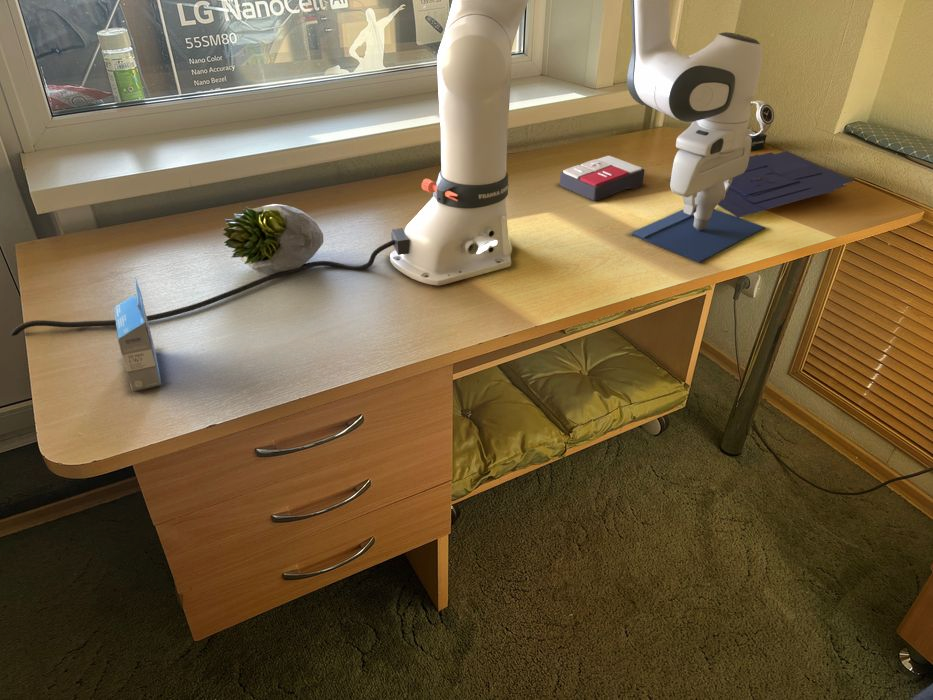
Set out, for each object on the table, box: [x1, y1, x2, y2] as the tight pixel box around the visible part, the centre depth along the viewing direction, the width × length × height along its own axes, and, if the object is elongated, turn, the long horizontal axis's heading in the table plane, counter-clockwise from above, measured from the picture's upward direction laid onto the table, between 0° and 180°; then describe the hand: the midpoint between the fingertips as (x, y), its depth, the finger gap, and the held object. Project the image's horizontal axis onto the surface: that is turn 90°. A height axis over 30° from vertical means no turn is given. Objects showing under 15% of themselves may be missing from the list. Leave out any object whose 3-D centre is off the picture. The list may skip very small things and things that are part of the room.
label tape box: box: [113, 275, 162, 392], centre depth 93 cm, size 9×4×12 cm, turn 25°
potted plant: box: [222, 203, 324, 276], centre depth 118 cm, size 12×13×15 cm
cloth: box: [631, 208, 766, 264], centre depth 135 cm, size 22×15×1 cm
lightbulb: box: [693, 180, 725, 231], centre depth 132 cm, size 6×6×11 cm
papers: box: [669, 150, 856, 218], centre depth 152 cm, size 24×30×4 cm
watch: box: [748, 100, 775, 151], centre depth 174 cm, size 6×8×11 cm
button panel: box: [559, 155, 646, 202], centre depth 154 cm, size 11×4×15 cm
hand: (703, 206), depth 133 cm, fingers open, 8 cm apart
